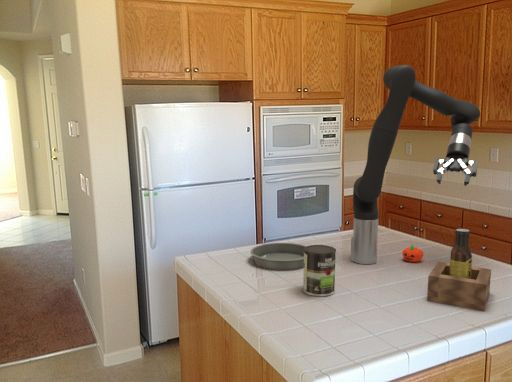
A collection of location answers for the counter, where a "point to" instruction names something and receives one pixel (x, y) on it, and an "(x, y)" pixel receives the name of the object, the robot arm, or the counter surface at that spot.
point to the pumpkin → (412, 254)
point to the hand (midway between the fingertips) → (452, 183)
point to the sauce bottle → (461, 255)
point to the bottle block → (459, 287)
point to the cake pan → (279, 256)
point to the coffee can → (319, 270)
